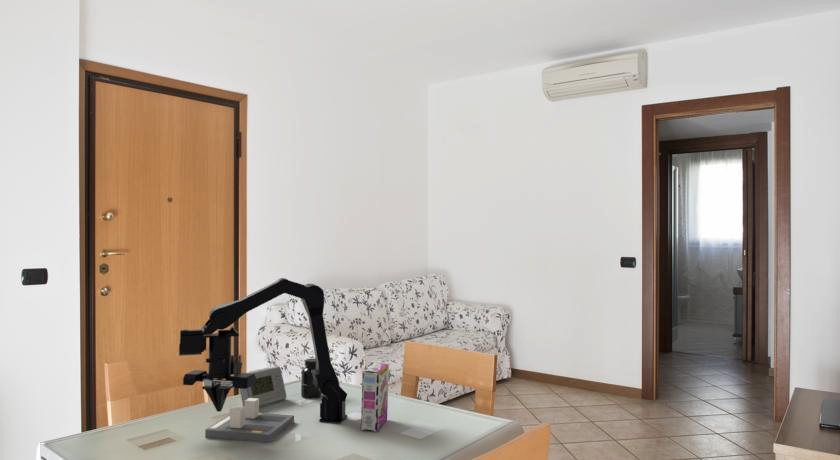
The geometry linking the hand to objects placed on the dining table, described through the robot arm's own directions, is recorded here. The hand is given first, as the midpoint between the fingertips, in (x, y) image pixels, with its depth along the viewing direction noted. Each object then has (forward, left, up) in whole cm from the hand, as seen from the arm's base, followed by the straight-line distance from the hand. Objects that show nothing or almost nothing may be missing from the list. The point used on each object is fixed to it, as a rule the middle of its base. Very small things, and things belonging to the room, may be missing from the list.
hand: (219, 411), depth 153 cm
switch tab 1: (-5, 0, -4) cm, 6 cm away
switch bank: (-7, -4, -6) cm, 10 cm away
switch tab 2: (-5, -8, -4) cm, 10 cm away
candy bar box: (-39, -15, -6) cm, 43 cm away
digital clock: (0, -26, -6) cm, 27 cm away
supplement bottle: (-11, -38, -6) cm, 40 cm away
